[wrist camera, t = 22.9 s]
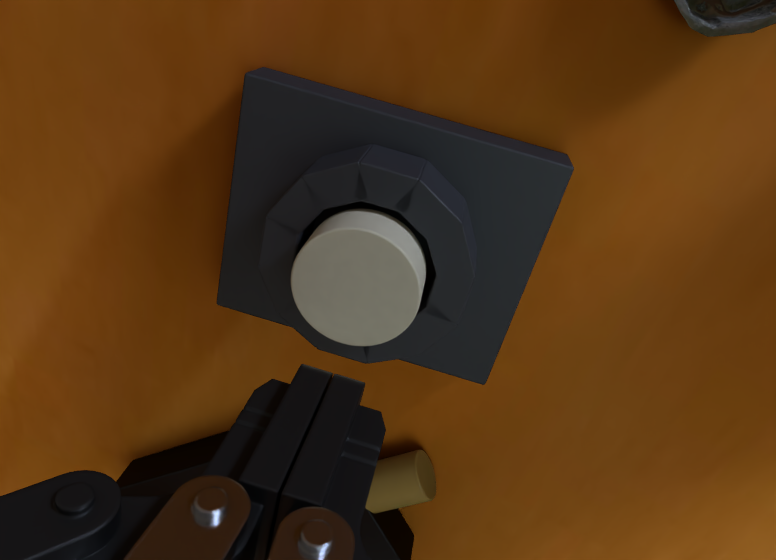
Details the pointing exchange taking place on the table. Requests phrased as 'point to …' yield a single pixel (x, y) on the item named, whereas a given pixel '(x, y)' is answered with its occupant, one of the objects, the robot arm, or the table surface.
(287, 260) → the button housing
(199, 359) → the table surface
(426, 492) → the valve block
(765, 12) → the corroded twin loop
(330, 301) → the button
